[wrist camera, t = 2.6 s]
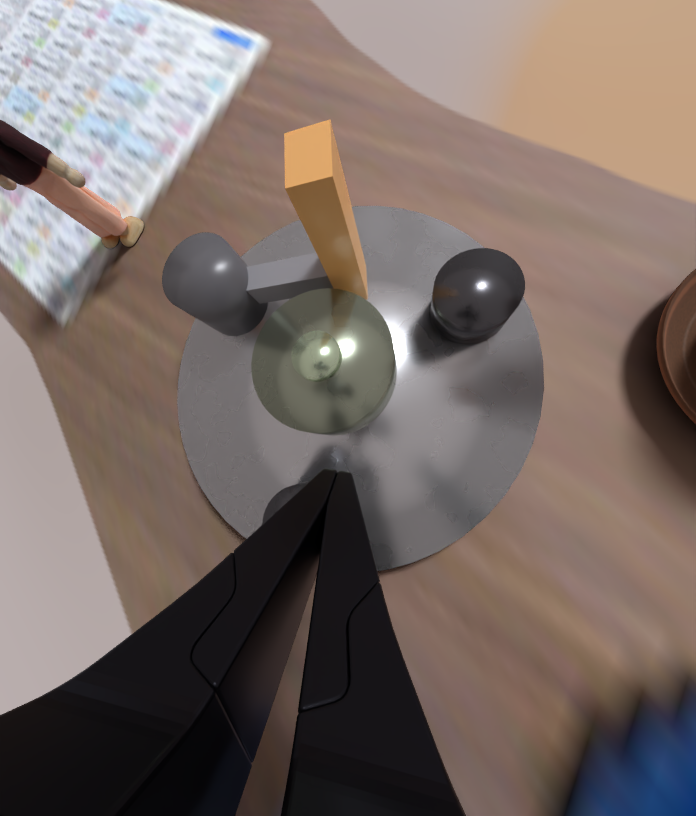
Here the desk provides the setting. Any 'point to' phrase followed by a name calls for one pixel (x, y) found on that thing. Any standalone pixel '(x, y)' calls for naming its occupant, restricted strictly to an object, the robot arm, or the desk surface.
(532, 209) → the desk surface
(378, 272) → the levelling plate
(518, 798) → the desk surface
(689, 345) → the cup and saucer
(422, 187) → the desk surface
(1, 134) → the grandmother figurine
